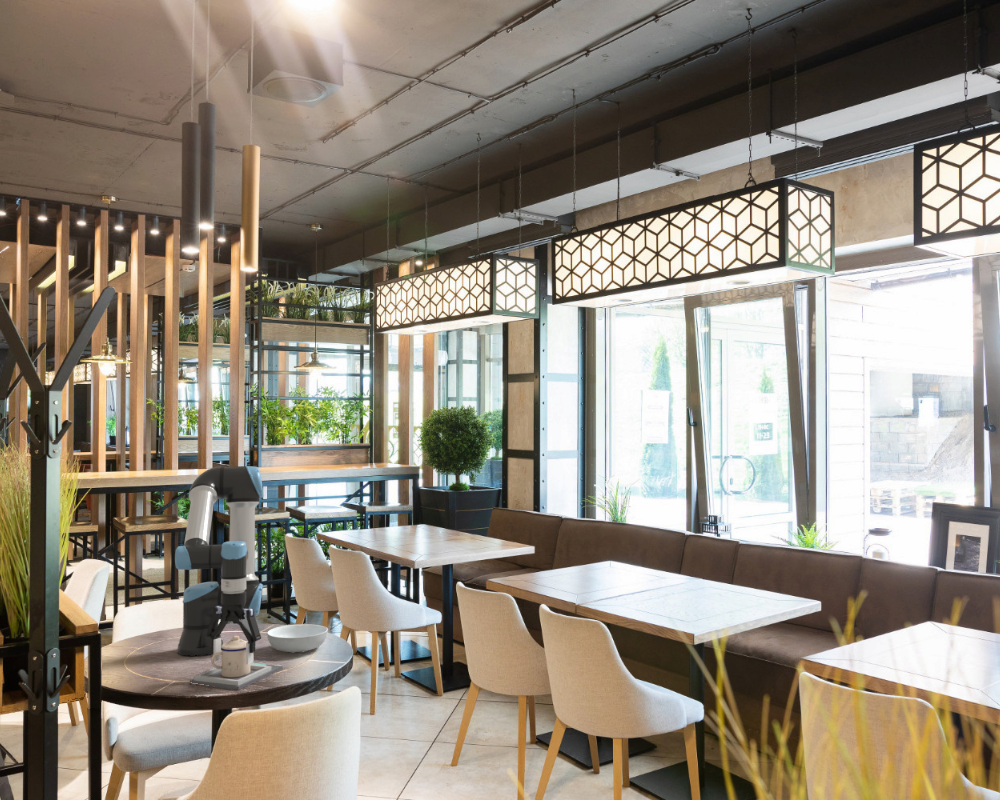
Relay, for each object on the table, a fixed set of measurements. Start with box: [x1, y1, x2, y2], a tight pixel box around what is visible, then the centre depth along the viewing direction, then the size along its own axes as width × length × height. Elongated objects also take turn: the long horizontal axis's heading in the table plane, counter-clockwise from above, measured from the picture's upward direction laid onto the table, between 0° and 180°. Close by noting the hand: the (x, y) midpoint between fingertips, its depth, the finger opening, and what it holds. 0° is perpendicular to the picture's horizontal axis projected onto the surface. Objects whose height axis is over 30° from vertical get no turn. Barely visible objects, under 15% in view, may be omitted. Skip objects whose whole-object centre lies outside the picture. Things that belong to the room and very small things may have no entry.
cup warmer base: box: [189, 662, 283, 691], centre depth 255 cm, size 18×22×2 cm
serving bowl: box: [266, 623, 329, 653], centre depth 286 cm, size 21×21×7 cm
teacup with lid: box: [210, 635, 250, 678], centre depth 254 cm, size 12×9×12 cm
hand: (233, 661), depth 253 cm, fingers open, 11 cm apart
